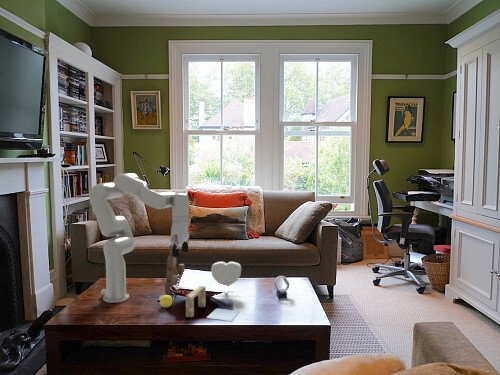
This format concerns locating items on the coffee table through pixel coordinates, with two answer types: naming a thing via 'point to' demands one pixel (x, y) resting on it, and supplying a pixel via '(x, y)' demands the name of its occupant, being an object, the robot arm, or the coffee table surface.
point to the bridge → (190, 300)
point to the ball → (166, 301)
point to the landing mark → (223, 314)
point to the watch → (281, 293)
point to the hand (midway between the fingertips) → (180, 254)
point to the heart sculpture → (226, 275)
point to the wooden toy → (172, 272)
